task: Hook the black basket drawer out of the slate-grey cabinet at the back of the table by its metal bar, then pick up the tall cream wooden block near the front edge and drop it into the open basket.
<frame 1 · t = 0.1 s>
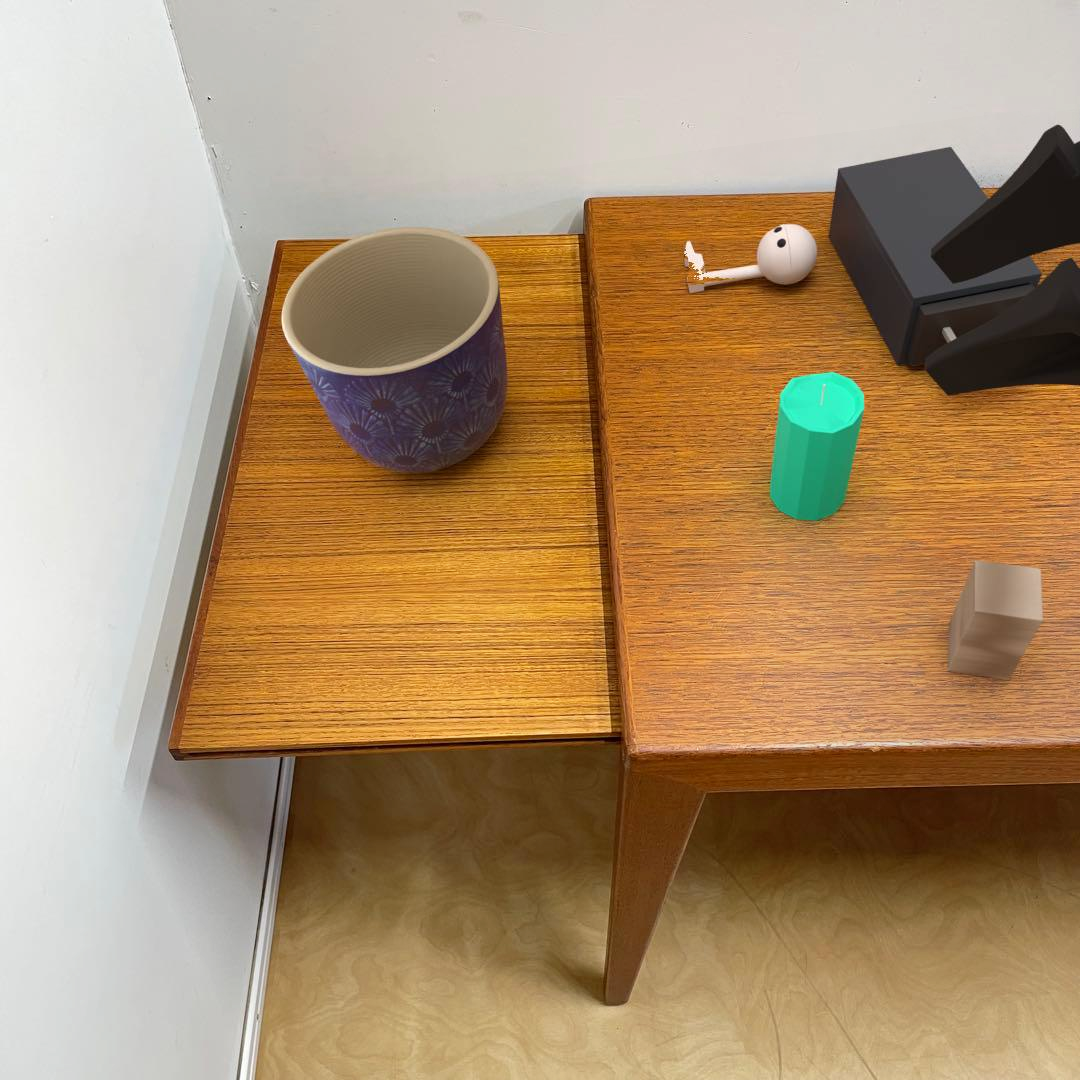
hand: (939, 319, 46), 31 cm above the table, tool tilted 50°, fingers open, 7 cm apart
cabinet: (916, 286, 92), on the table
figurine: (747, 274, 96), on the table
candle: (806, 492, 80), on the table
planter: (430, 430, 88), on the table
drawer: (943, 282, 86), point 4 cm above the table, slide at 0.0 cm, touching cabinet
block: (978, 651, 70), on the table
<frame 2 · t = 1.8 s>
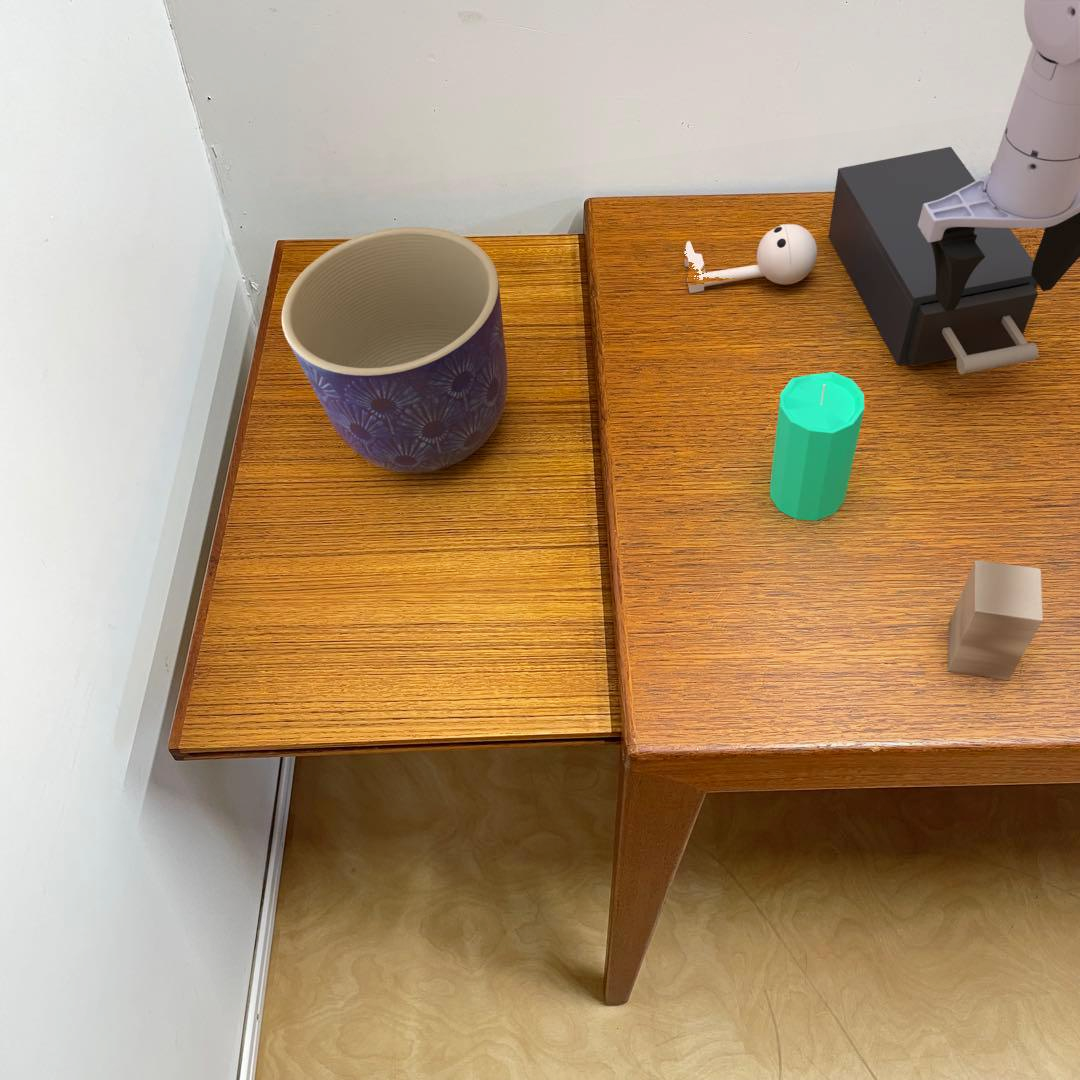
hand: (992, 292, 76), 10 cm above the table, tool pointing down, fingers open, 7 cm apart
nothing on the table moved.
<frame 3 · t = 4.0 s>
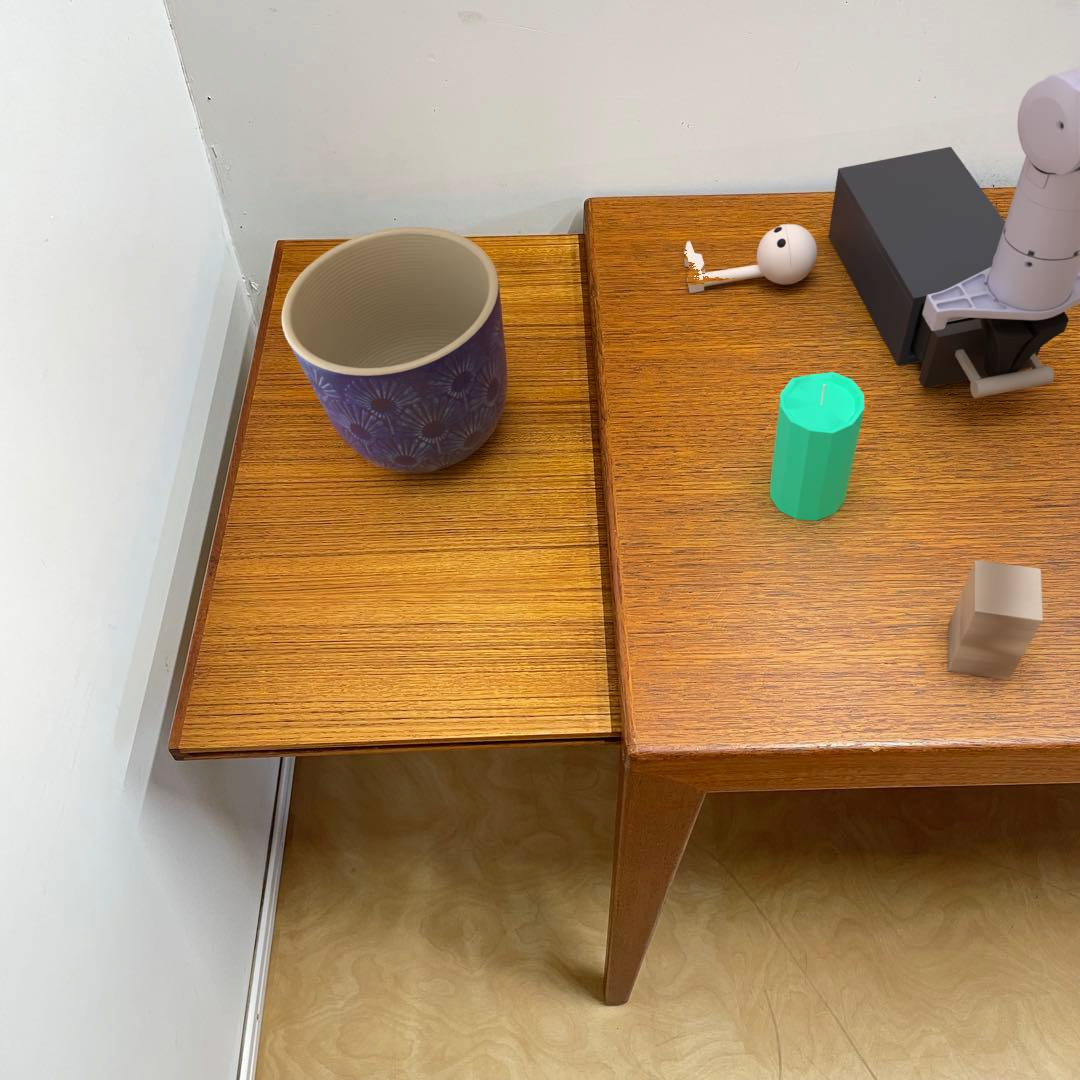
hand: (997, 374, 80), 3 cm above the table, tool pointing down, fingers closed, pressing on drawer
drawer: (955, 303, 85), point 4 cm above the table, slide at 2.7 cm, touching gripper
everything else where it was.
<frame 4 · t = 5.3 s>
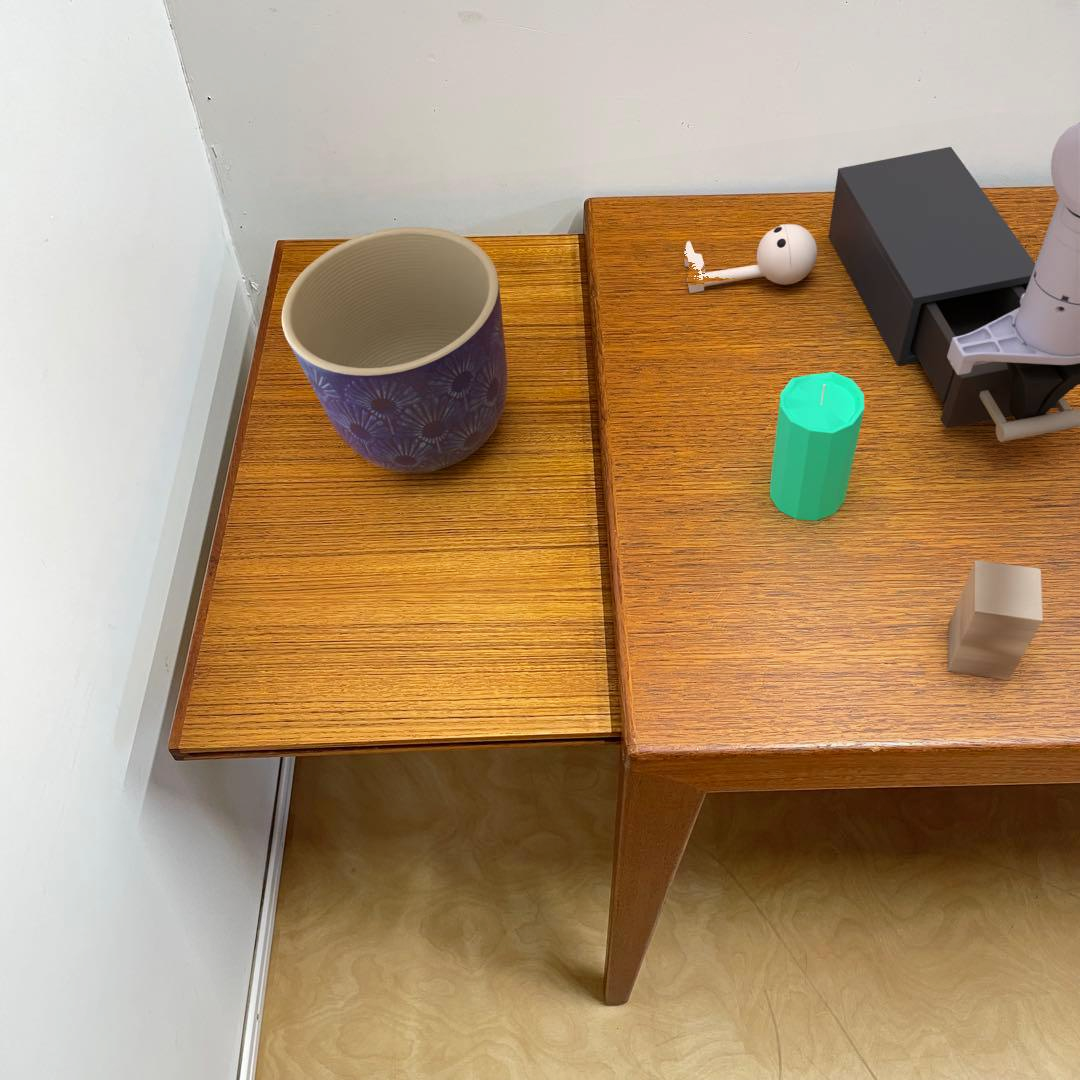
hand: (1022, 416, 77), 3 cm above the table, tool pointing down, fingers closed, pressing on drawer
drawer: (978, 340, 82), point 4 cm above the table, slide at 7.4 cm, touching gripper
everything else where it was.
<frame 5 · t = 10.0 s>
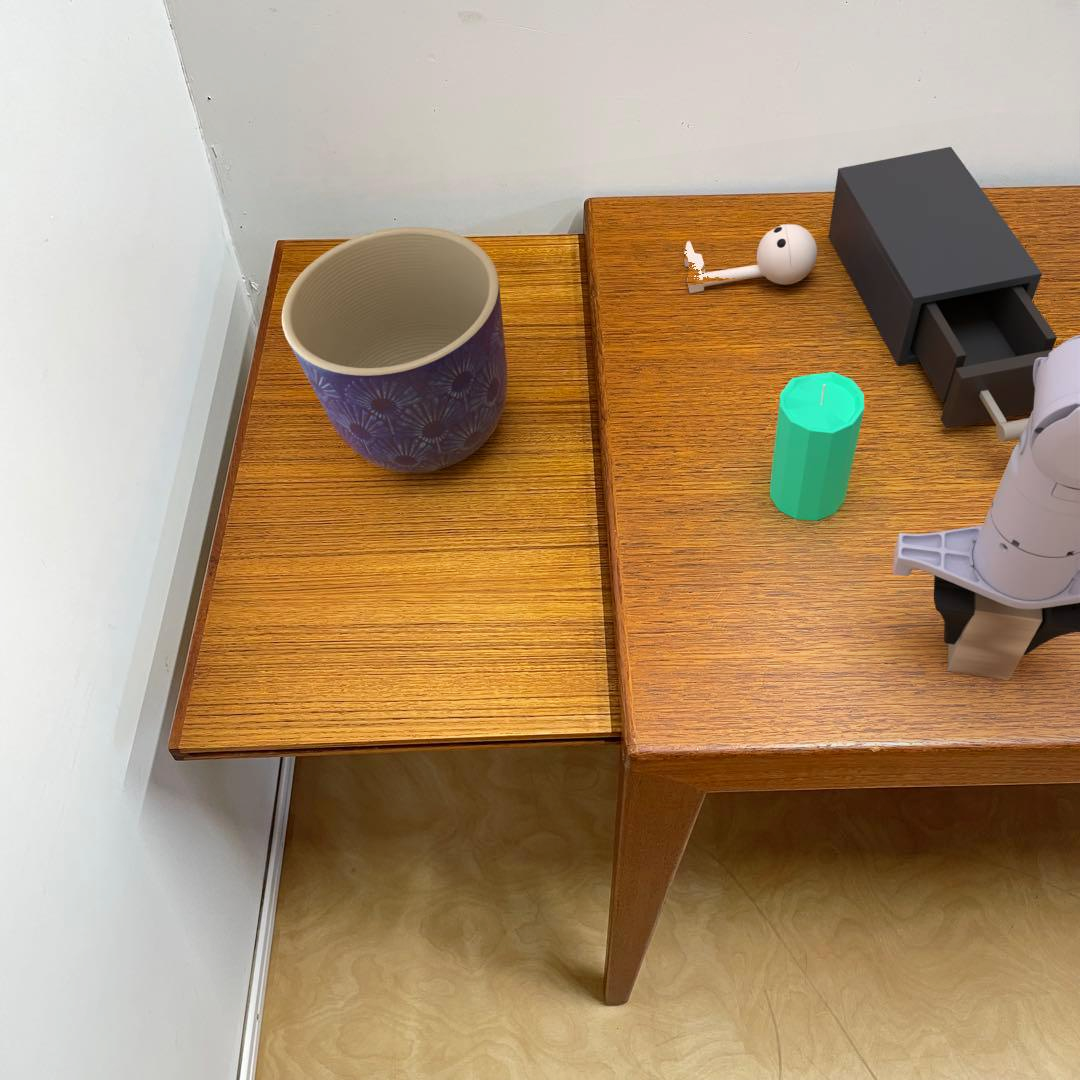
hand: (985, 636, 68), 2 cm above the table, tool pointing down, fingers closed on block, 4 cm apart
drawer: (978, 340, 82), point 4 cm above the table, slide at 7.4 cm
block: (977, 651, 70), on the table, touching gripper
everything else where it was.
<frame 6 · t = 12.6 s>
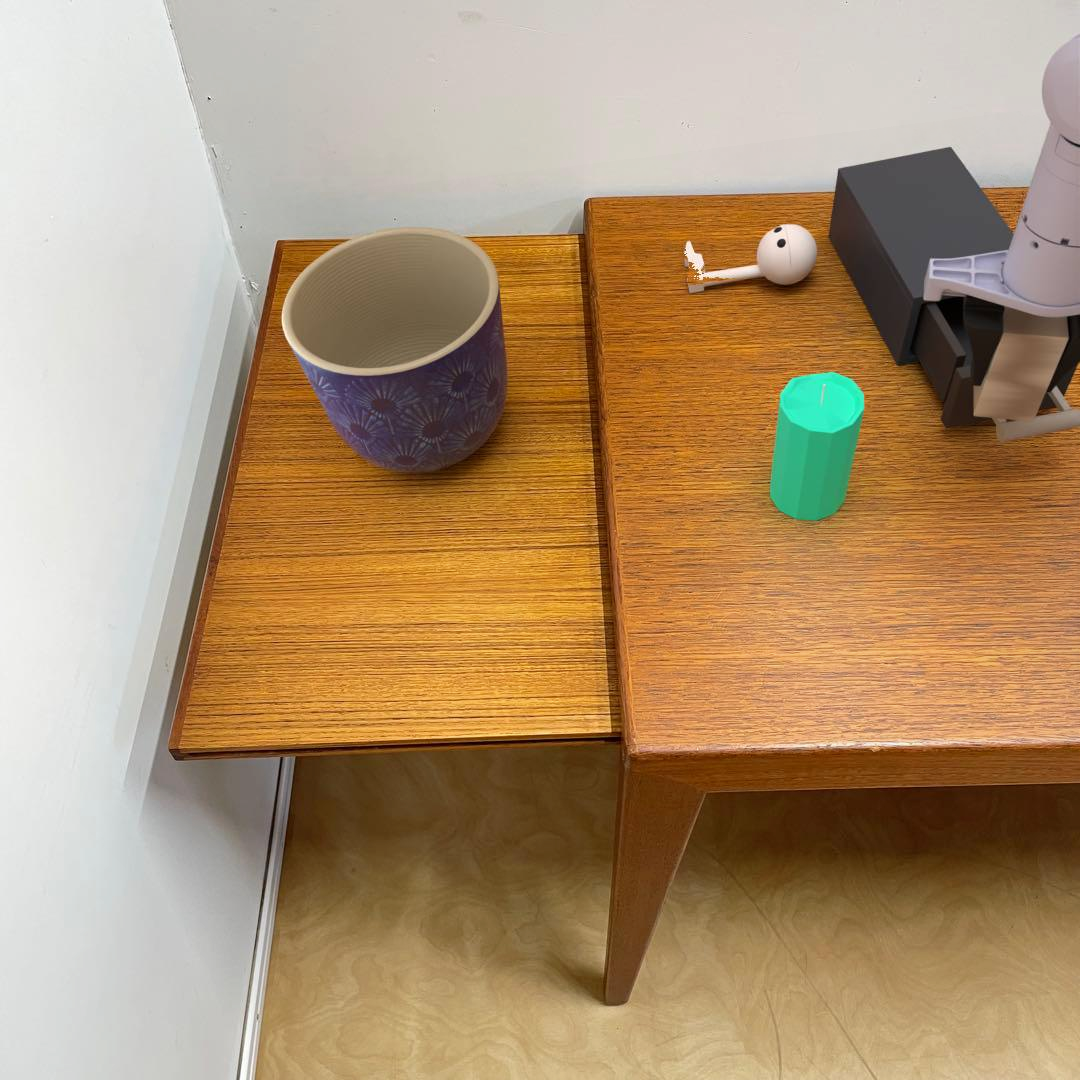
hand: (1010, 379, 70), 10 cm above the table, tool pointing down, fingers closed on block, 4 cm apart
block: (1002, 399, 72), point 8 cm above the table, touching gripper
everything else where it was.
when the fingers open (6 cm above the table, at t = 15.4 s): block stays where it is, resting on drawer.
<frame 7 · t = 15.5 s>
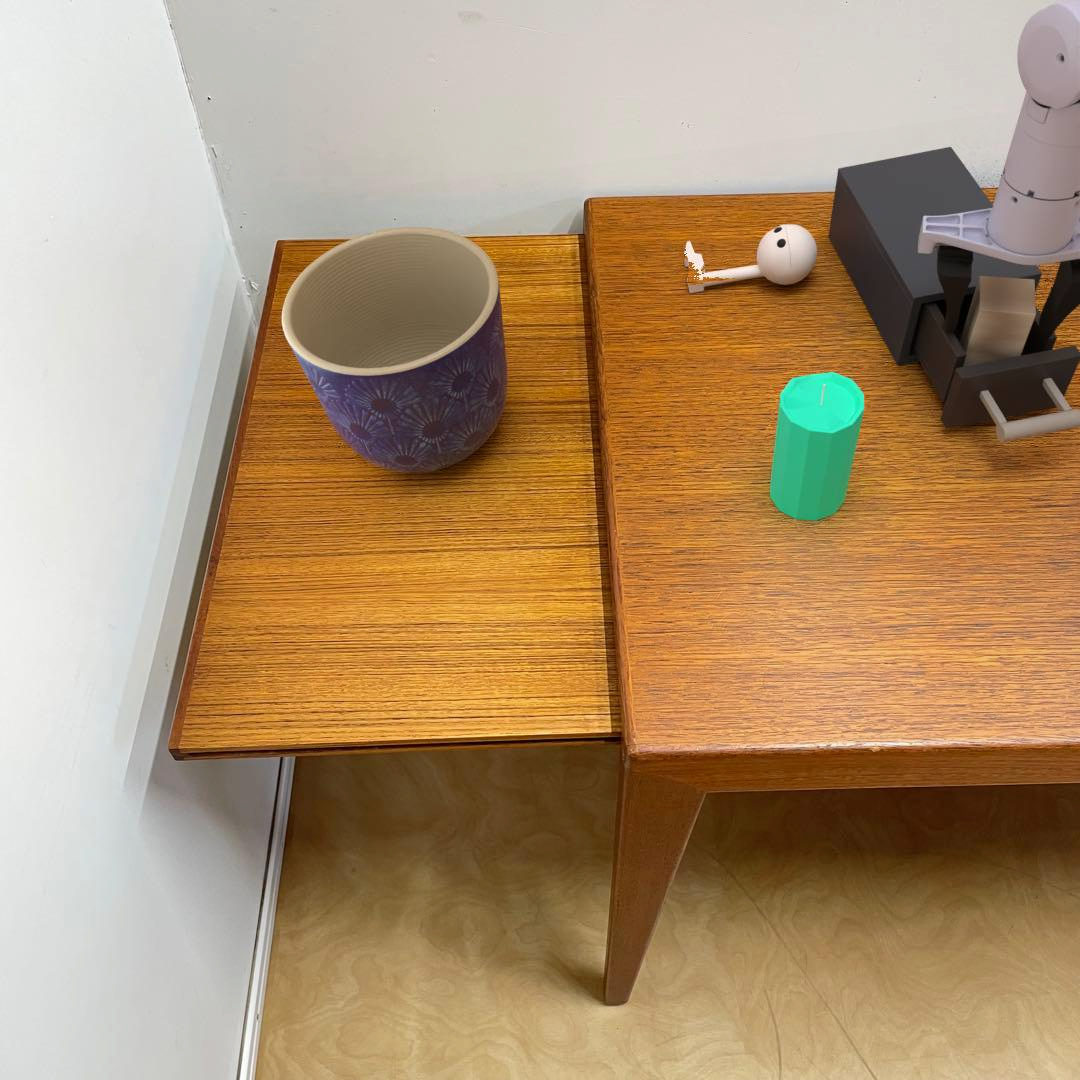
hand: (996, 326, 78), 7 cm above the table, tool pointing down, fingers open, 6 cm apart
drawer: (979, 340, 82), point 4 cm above the table, slide at 7.5 cm, touching block
block: (981, 369, 82), point 2 cm above the table, touching drawer
everything else where it was.
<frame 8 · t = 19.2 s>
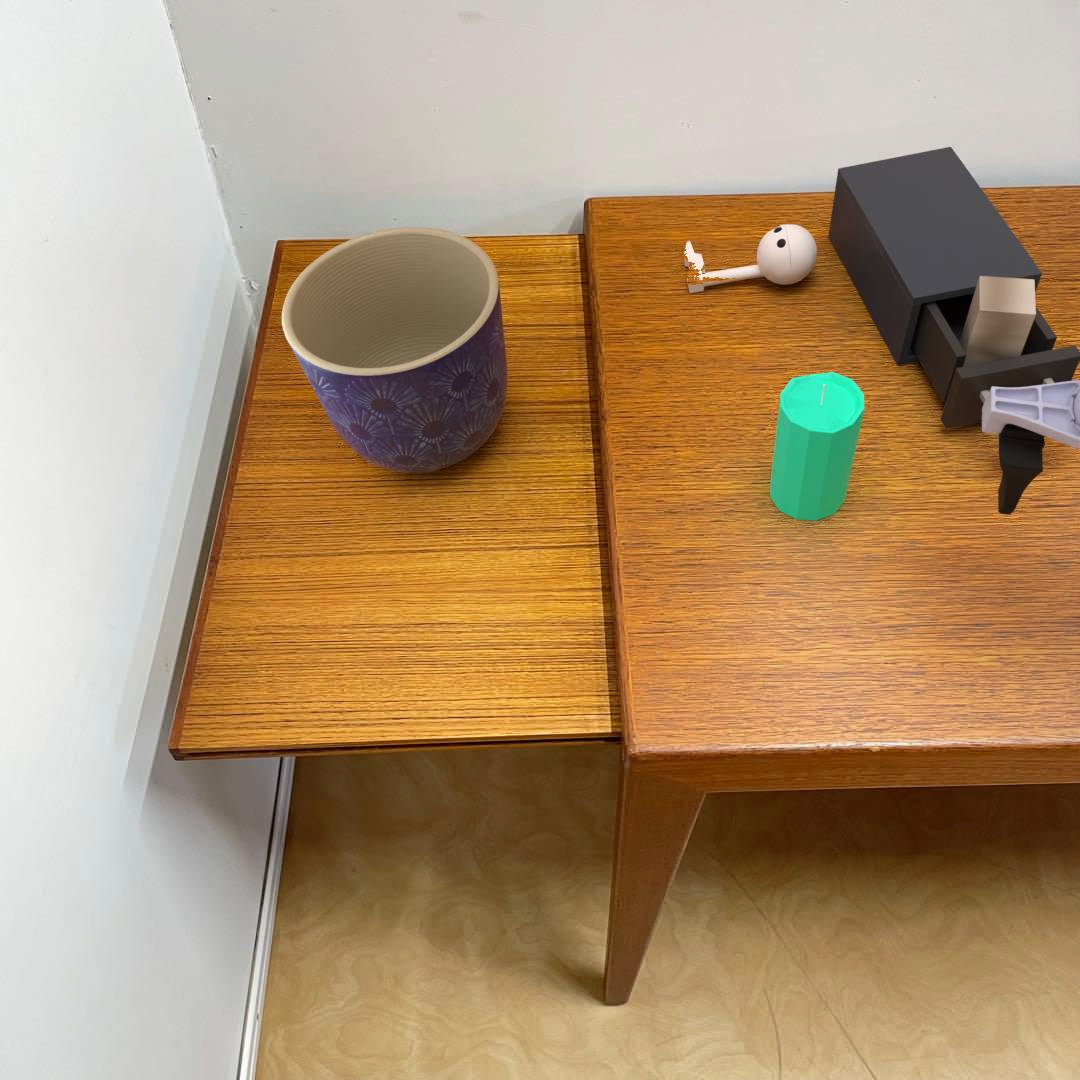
hand: (1067, 511, 63), 10 cm above the table, tool pointing down, fingers open, 7 cm apart
nothing on the table moved.
at the end: drawer slide at 7.5 cm; block 0.1 cm from the target spot in the drawer, point 2.0 cm above the cabinet's base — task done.
